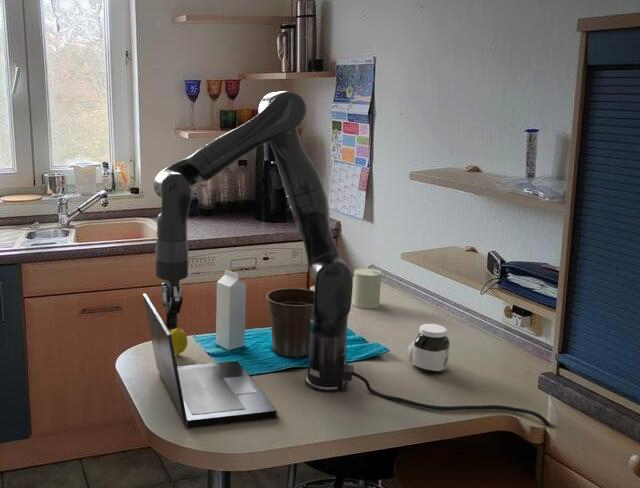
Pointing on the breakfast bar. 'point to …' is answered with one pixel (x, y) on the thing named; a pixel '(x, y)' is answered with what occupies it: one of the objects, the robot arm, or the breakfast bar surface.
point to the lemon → (179, 340)
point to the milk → (230, 311)
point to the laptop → (221, 395)
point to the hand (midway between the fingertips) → (171, 327)
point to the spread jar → (430, 349)
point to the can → (366, 288)
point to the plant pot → (290, 320)
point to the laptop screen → (165, 355)
